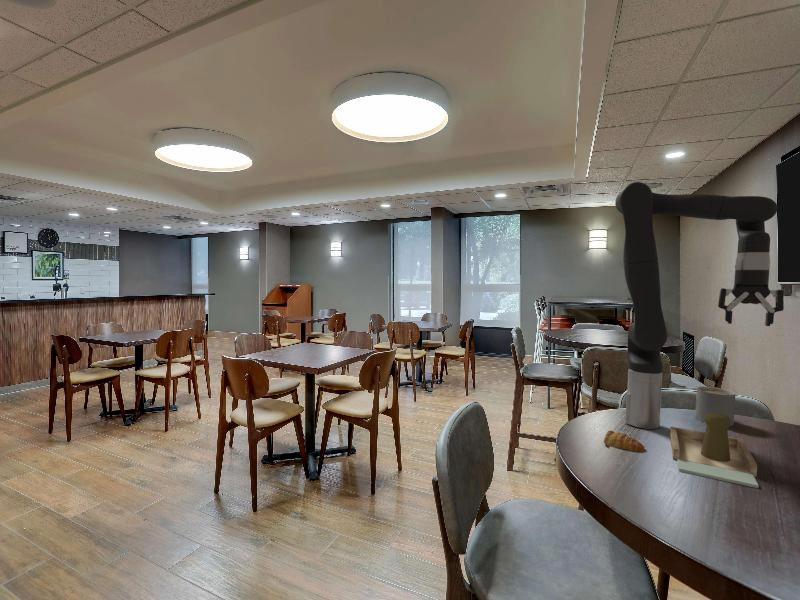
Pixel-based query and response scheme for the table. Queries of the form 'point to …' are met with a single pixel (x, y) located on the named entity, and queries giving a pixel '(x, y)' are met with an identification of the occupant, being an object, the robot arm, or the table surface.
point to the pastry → (622, 441)
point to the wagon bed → (689, 449)
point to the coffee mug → (714, 402)
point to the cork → (716, 437)
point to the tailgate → (717, 473)
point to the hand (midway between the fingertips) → (748, 324)
